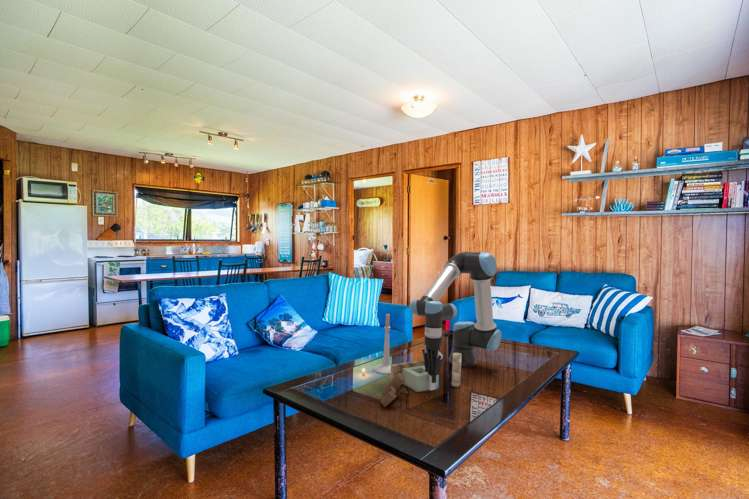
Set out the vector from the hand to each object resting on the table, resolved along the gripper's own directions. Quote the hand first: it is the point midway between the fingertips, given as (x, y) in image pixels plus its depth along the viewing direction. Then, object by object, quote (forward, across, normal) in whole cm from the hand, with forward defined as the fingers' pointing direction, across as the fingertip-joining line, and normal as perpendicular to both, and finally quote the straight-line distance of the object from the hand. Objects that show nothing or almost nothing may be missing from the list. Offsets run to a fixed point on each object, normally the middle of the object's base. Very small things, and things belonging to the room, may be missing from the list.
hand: (432, 389), depth 174 cm
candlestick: (+2, -37, -1) cm, 37 cm away
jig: (+2, -7, 0) cm, 7 cm away
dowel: (+2, -2, +16) cm, 16 cm away
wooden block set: (+2, -4, -19) cm, 20 cm away
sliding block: (+1, -9, 0) cm, 9 cm away
